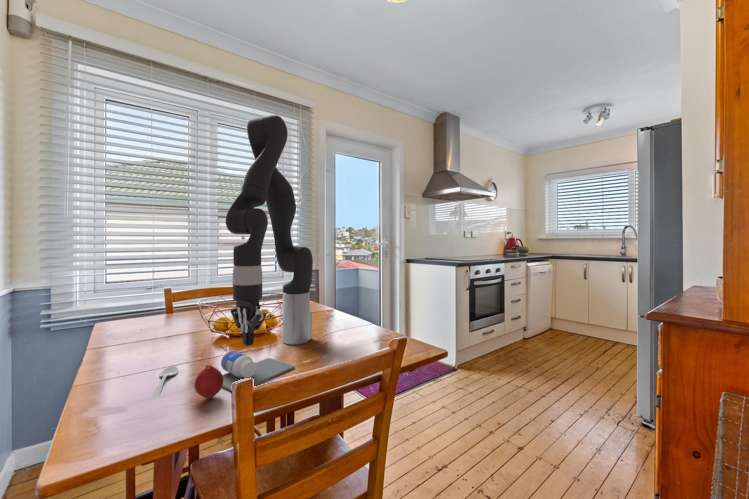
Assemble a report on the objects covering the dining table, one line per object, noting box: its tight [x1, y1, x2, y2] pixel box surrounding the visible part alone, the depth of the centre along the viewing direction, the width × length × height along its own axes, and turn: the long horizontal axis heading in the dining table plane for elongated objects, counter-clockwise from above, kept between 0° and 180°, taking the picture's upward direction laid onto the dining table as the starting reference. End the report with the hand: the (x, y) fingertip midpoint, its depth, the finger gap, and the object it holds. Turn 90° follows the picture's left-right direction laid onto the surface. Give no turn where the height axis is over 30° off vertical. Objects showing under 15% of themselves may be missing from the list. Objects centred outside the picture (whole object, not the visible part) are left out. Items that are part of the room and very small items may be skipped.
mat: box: [221, 357, 296, 393], centre depth 86 cm, size 18×11×1 cm, turn 146°
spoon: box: [149, 365, 179, 401], centre depth 80 cm, size 4×21×2 cm, turn 19°
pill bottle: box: [220, 350, 256, 378], centre depth 85 cm, size 6×5×10 cm
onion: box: [194, 363, 224, 400], centre depth 73 cm, size 6×6×8 cm
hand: (248, 344), depth 89 cm, fingers closed
